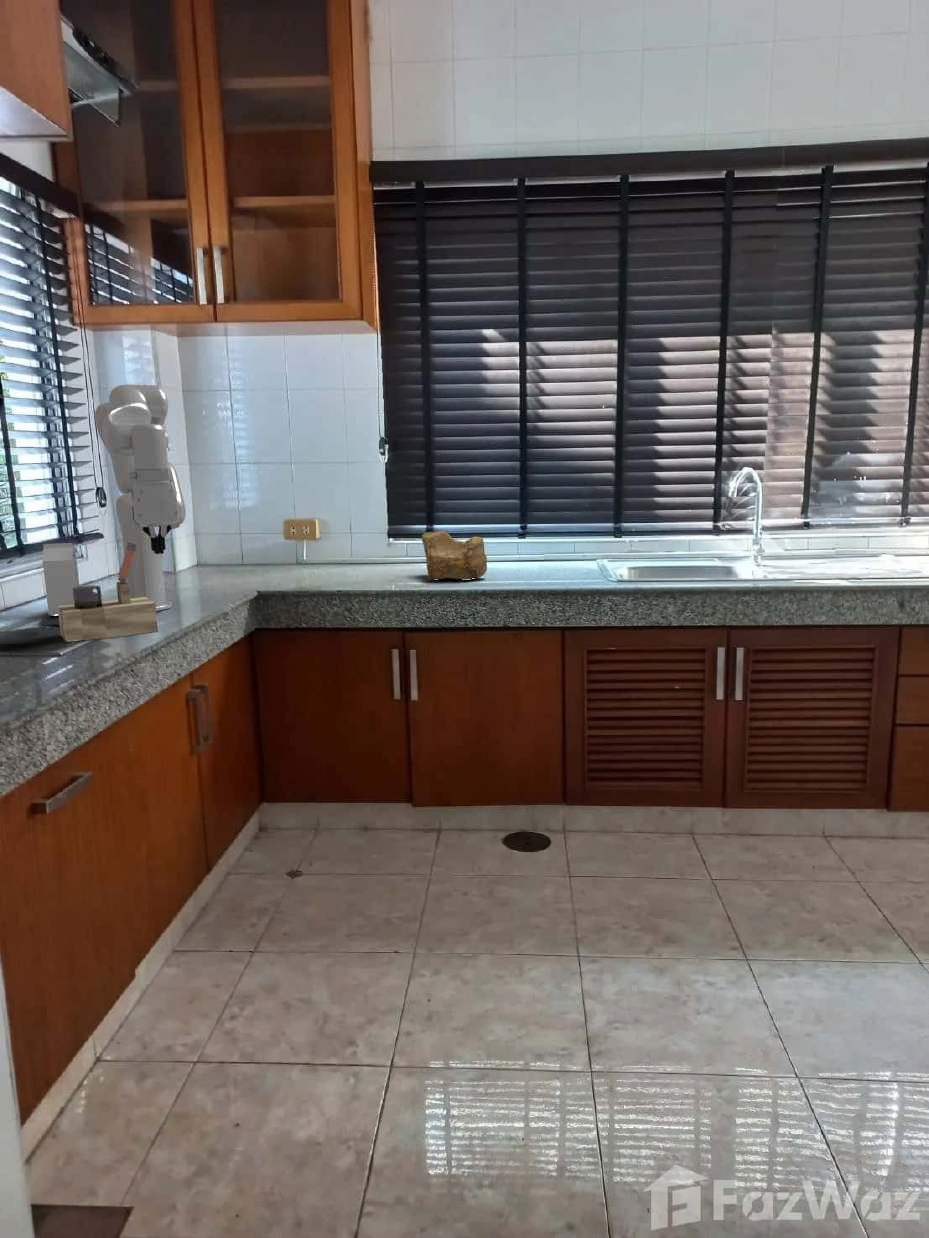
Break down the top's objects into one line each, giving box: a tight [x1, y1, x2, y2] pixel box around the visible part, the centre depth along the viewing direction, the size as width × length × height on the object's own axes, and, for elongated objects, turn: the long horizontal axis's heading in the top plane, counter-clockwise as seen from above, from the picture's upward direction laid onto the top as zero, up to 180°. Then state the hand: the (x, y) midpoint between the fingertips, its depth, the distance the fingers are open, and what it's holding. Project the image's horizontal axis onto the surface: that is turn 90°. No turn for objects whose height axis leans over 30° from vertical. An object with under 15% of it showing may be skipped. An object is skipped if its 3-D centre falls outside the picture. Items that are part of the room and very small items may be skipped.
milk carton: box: [41, 542, 80, 616], centre depth 223 cm, size 7×7×19 cm
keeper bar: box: [117, 542, 137, 583], centre depth 201 cm, size 5×10×1 cm
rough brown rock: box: [421, 530, 488, 580], centre depth 272 cm, size 23×17×15 cm
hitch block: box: [58, 581, 159, 643], centre depth 200 cm, size 10×20×12 cm, turn 123°
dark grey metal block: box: [72, 584, 103, 609], centre depth 198 cm, size 6×6×11 cm
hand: (158, 553), depth 204 cm, fingers closed
